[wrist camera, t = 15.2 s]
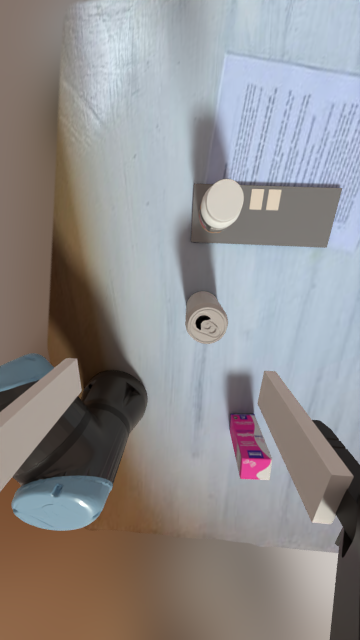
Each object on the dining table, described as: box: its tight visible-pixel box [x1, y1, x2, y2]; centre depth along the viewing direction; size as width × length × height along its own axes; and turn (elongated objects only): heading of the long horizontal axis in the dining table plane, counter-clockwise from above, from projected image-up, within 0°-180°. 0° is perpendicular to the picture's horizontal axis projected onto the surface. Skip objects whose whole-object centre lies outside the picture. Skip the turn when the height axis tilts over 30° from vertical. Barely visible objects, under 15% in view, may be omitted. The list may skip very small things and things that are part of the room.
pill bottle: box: [199, 179, 244, 233], centre depth 29 cm, size 6×6×10 cm
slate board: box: [191, 184, 342, 248], centre depth 33 cm, size 24×9×1 cm, turn 88°
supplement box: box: [230, 414, 272, 480], centre depth 42 cm, size 6×6×11 cm
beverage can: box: [185, 291, 228, 344], centre depth 33 cm, size 6×6×12 cm
